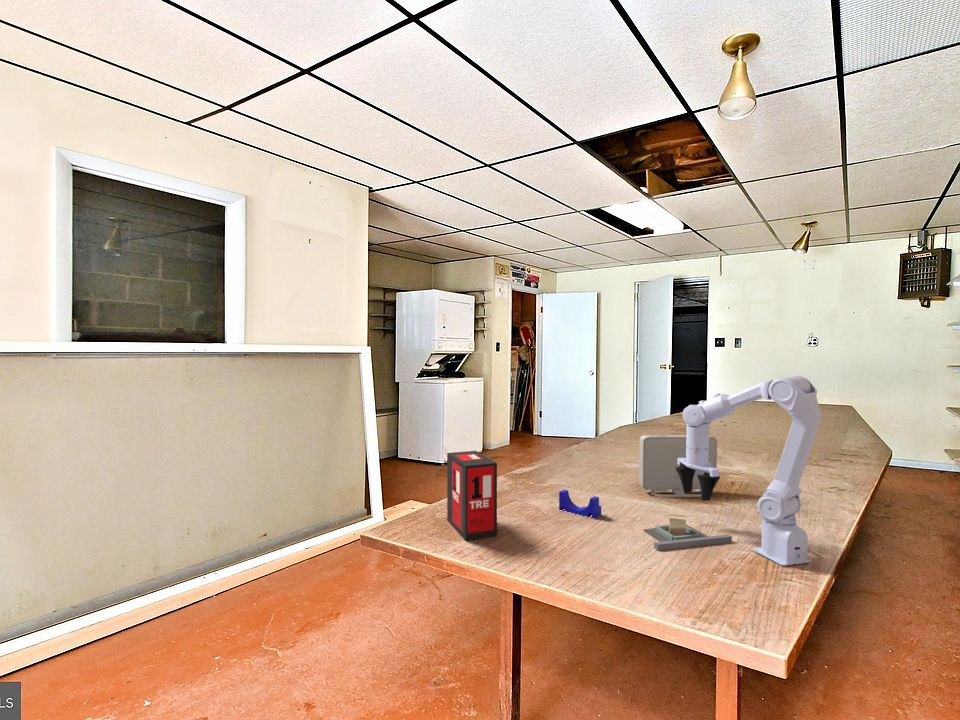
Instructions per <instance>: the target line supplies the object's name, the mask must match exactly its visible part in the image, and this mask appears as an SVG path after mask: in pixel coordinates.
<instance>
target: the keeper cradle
mask: <svg viewBox="0 0 960 720" xmlns="http://www.w3.org/2000/svg"><path fill="white" fill-rule="evenodd" d="M642 530H644V531H643V532H645V533H646V534H648V535H649V536H651V538H654V539H655V540H656V541H657V542H662V541H671V540H681V539H690V538H699V537H708V535H707V534H705V533H703V532H701V531H699V530H697V529H696V528H693V527H692V526H691V525H688V524H686V535H682V536H673V535H671V534H670V533H669V524H661V525H655V527H654V528H653V527H652V528H644V529H642Z"/></svg>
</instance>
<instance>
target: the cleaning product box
mask: <svg viewBox="0 0 960 720" xmlns="http://www.w3.org/2000/svg"><path fill="white" fill-rule="evenodd" d="M446 457H447V458H446V478H447V479H446V481H447V483H446V485H447V486H446V487H447V488H446V490H447V491H446V492H447V493H446V496H447V498H446V499H447V502H446V503H447V505H446V508H447V509H446V512H447V515H446V517H447V518H446V521H447V522H448V523H449V524H450V525H451V527H452V528H453V529H454V530H455V531H456V532H457V533H458V534H459V535H460V537H461V538H462V539H463V540H464V541H465V542H470V541H476V540H483V539H484V540H485V539H491V538H496V537H498V463H497V461H494V460H493V459H491V458H489V457H487V456H486V455H485V454H482V453H481V452H478V451H477V450H470V451H469V450H468V451H459V452H458V451H455V452H447V453H446Z"/></svg>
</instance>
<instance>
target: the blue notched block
mask: <svg viewBox="0 0 960 720" xmlns="http://www.w3.org/2000/svg"><path fill="white" fill-rule="evenodd" d="M558 495H559V496H558V500H559V501H558V511H559V510H563V509H565V510H564V511H567V512H571V513H575V514H574V515H576V514H579V515H578V516H580V515H583V516H582V517H584V516H587V517H586V518H588V517H590V516H591V515H592V517H591V518H590V519H592V518H595V519H597V518H599V517H600V516H599V515H602V505H600V497H599V496H596V495H595V496H592V497H590V498H589V502H588V505H587V506H582V507H579V506H578V505H577V504H575V503H574V502H573V501H572V499H571V498H570V494H569V490H568V489H562V490H560V491H559V492H558ZM567 512H566V513H567ZM571 513H570V514H571ZM598 516H599V517H598ZM596 517H597V518H596Z"/></svg>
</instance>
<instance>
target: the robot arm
mask: <svg viewBox="0 0 960 720" xmlns="http://www.w3.org/2000/svg"><path fill="white" fill-rule="evenodd" d="M812 383H813V382H811V381H810V380H809V379H808V378H806V377H804V376H800V375H795V376H791V377H782V376H781V377H777V378H774V379H771V380H766V381H762V382H759V383H757V384H756V385H753V386H750V387H749V388H745V389H743V390H741V391H739V392H737V393H735V394H732V395H729V394H727V393H720V392H719V393H715V394H713V397H711V398H709V399H707V400H704V399H703V400H700V401H698V404H689V405H688V406H686V407H685V408H683V411H682V420H683V421H684V423H685V424H686V434H685V435H686V458H678V459H677V464H678V465H680V466H679V467H676V471H677V472H678V474H679V477H680V479H681V482H682V486H683V491H684V493H685V494H689V493H692V491H693V490H692V485H693V477H694V474H695V471H696V470H697V471H700V472H702V473H704V474H702V475H697V477H698V479H699V482H700V486H701V493H700V494H701V497H700V498H701V501H703V502H705V501H706V502H707V501H710V500H711V498H712V494H713V491H714V489H715V488H716V487H715V485H716V486H717V483H718V482H719V480H720V478H721V477H720V475H719V474H720V473H719V472H720V471H719V469H718V468H717V469H716V468H714V467H713V466H711V463H709V462H708V452H709V435H710V434H709V433H710V424H711V423H712V422H714V421H717V420H720V419H722V418H725V417H727V416H731V415H734V414H735V412H736V410H737V408H738V407H741V406H744V405H747V404H750V403H753V402H756V401H759V400H762V399H764V400H772V401H774V403H776V404H777V405H779V407H781V408H782V409H784V410H785V411H786V412H787V414H788V415H789V416H790V418H791V419H792V421H791V422H792V423H791V426H790V429H789V432H788V435H787V438H786V441H785V445H784V447H783V450H782V454H781V456H780V460H779V463H778V465H777V467H776V468H777V469H776V471H775V475H774V478H773V480H772V481H771V483H769V485H768V486H767V488H766V489H765V492H764V494H763V495H762V496H761V497H760V498H759V499H758V501H757V502H756V503H757V504H756V505H757V506H756V507H757V508H756V509H757V512H758V514H760V516H761V543H760V544H761V546H760V547H753V548H752V551H753V552H755V553H758V554H760V555H761V556H763V557H764V558H766V559H769V560H771V561H773V562H775V563H777V564H779V565H780V566H783V567H787V566H793V565H794V564H795V565H802V564H808V563H810V562H811V560H810V559H808V546H809V545H808V542H809V541H808V539H809V538H808V537H809V536H808V533H807V532H806V531H805V529H803V528H801V527H800V526H799V525H798V523H797V517H796V514H797V513H798V512H799V511H800V510H801V506H802V505H801V504H802V503H801V498H800V497H801V493H802V490H801V488H800V486H799V485H800V482H801V479H802V477H803V475H804V471H805V468H806V465H807V463H808V459H809V456H810V455H811V454H810V453H811V450H812V447H813V444H814V443H815V438H816V436H817V433H818V430H819V427H820V424H821V422H822V412H821V409H820V405H819V401H818V398H817V394H818V390H817V388H816V387H815V385H814V384H812ZM714 487H715V488H714Z"/></svg>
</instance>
